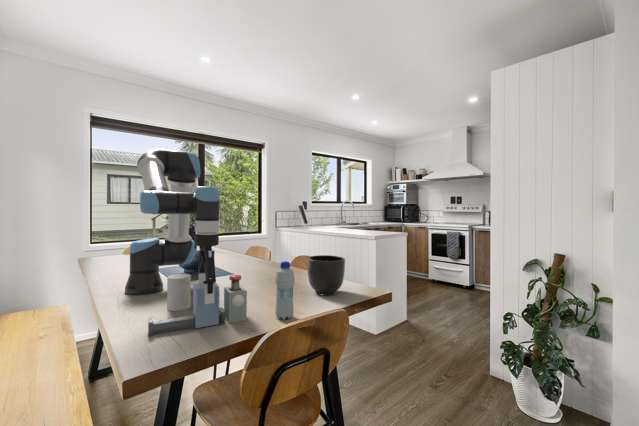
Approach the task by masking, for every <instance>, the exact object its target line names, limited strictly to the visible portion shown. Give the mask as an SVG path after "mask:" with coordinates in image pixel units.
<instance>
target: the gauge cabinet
mask: <svg viewBox="0 0 639 426" xmlns="http://www.w3.org/2000/svg"><path fill="white" fill-rule="evenodd" d="M223 291H224V292H223V309H224V310H225V320H227V322H228V323H234V322H240V321H245V320H247V318H248V317H247V315H248V314H247V312H248V311H247V308H248V307H247V304H248V302H247V301H248V300H247V299H248V297H247V296H248V293H247V292H248V291H247V290H246V289H245V288H244V287H243V286H242V285H239V290H236V291H231V286H224V287H223Z"/></svg>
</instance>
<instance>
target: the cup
mask: <svg viewBox="0 0 639 426" xmlns="http://www.w3.org/2000/svg"><path fill="white" fill-rule="evenodd" d="M191 280H192V275H191V274H188V273H176V274H170V275H168V276H167V281H166V283H167V284H166V285H167V287H166V289H167V293H166V294H167V296H166V297H167V299H166V300H167V302H166V305H167V306H166V307H167V308H166V309H167V311H171V312H179V311H184V310H188V309H190V308H191V302H192V300H191V294H192V293H191V291H192V287H191V284H192V281H191Z"/></svg>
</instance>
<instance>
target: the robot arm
mask: <svg viewBox="0 0 639 426" xmlns="http://www.w3.org/2000/svg"><path fill="white" fill-rule="evenodd" d="M136 166H137V168H136V169H137V172H138V173H139V174H140V176H141V177H142V184H143V189H144V190H143V191H141V192H140V195H139V209H140V210H139V211H140V212H141V213H142V214H146V215H169V216H168V217H169V220H168V233H167V234H166V235H165V236H164V240H160V238H158V237H153V238H151V237H150V238H143V239H139V240H134V241H133V242H131V243H130V244H129V245H130V246H129V252H128V254H129V276H128V278H127V282H126V283H125V286H124V293H125V294H127V295H135V296H137V295H148V294H153V293H157V292H160V291H162V290H163V289H164V283H163V279H162V277H161V275H160V267H163V266H164V267H165V266H166V267H167V266H176V265H180V266H182V265H186V264H190V263H191V262H192V261H193V259H194V256H195V252H196V251H195V250H196V247H195V246H197V247H199V252H198V253H199V254H198V266H197V269H198V284H201V283H203V284H205V304H210V303H214V283H215V282H216V283H217V278H216V277H217V276H216V263H215V250H213V248H212V247H215V246H219V244H220V243H219V242H220V241H219V240H220V239H219V238H220V236H219V235H220V234H218V233H219V232H220V199H221V197H220V188H219V187H217V186H202V185H201V186H200V185H198V186H196V187H195V191H194V192H192V186H193V185H195V184H196V180H197V179H199V178H200V177H201V164H200V159H199V156H198V154H197V153H195V152H192V151H186V150H177V149H176V150H175V149H167V148H154V149H150V150H148V151H145V153H143V154H142V155H141V156H140V157H139V159H137V165H136ZM166 177H167V179H166ZM167 181H168V182H169V183H170V190H169V187H168V183H167ZM191 215H194V223H192V227H194V232H195V234H194V240H193V238H192V236H191V235H190V234H189V231H190V219H191V218H190V216H191Z"/></svg>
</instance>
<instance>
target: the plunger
mask: <svg viewBox="0 0 639 426" xmlns="http://www.w3.org/2000/svg"><path fill="white" fill-rule="evenodd" d="M241 280H242V275H241V274H233V275H230V276H229V281H230V282H231V283H230V287H231V291H236V290H239V286H240V281H241Z"/></svg>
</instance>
